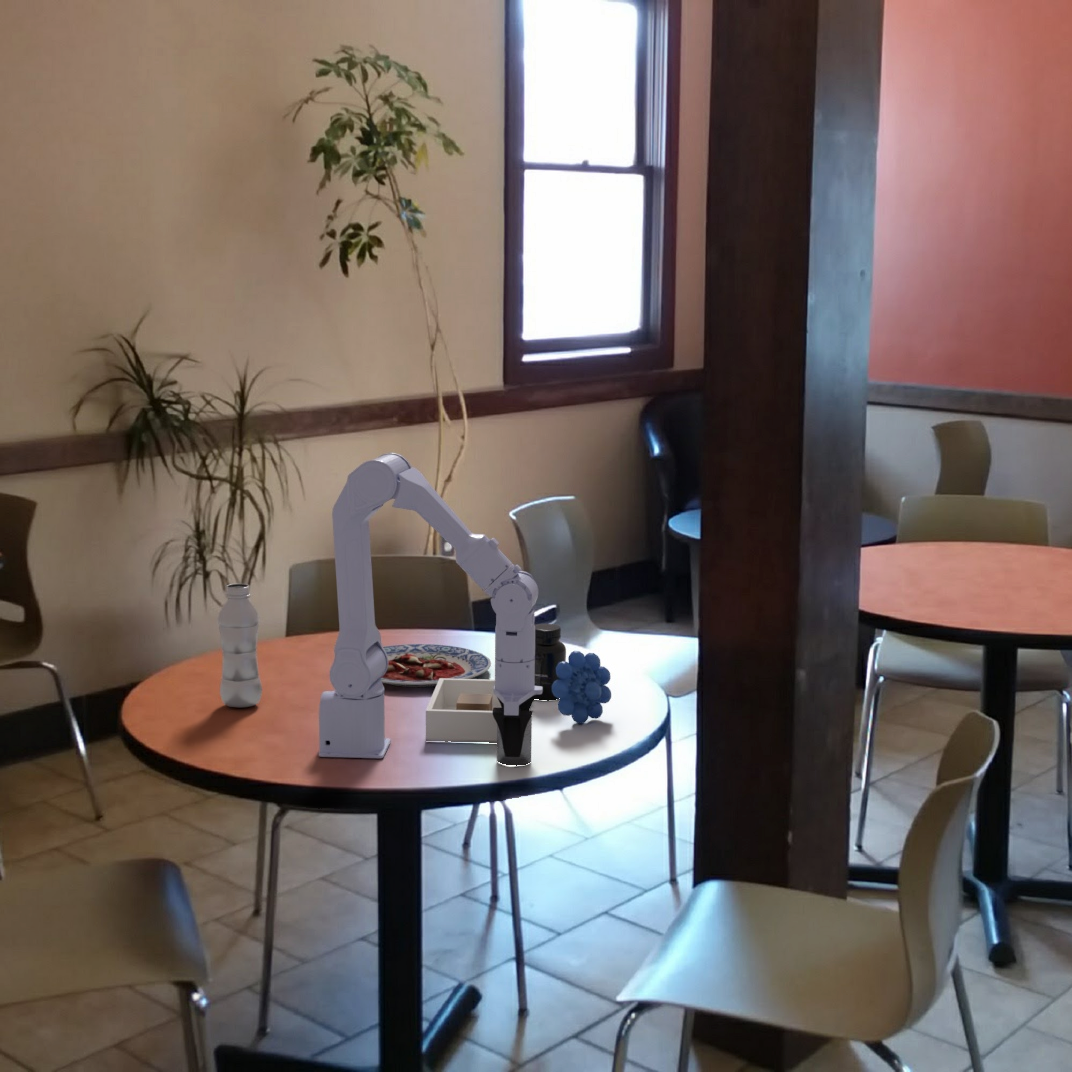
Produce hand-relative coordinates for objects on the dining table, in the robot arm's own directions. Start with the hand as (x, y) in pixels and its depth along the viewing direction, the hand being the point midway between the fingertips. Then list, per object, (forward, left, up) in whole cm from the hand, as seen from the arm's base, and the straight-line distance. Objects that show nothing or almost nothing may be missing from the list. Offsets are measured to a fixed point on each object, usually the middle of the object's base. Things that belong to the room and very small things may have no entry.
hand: (514, 748), depth 205 cm
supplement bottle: (+3, +33, -2) cm, 33 cm away
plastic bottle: (-46, +23, -2) cm, 51 cm away
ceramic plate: (-20, +45, -2) cm, 49 cm away
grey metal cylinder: (0, 0, -2) cm, 2 cm away
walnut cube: (-7, +12, -1) cm, 14 cm away
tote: (-7, +16, -2) cm, 18 cm away
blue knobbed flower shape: (+10, +18, -2) cm, 21 cm away
